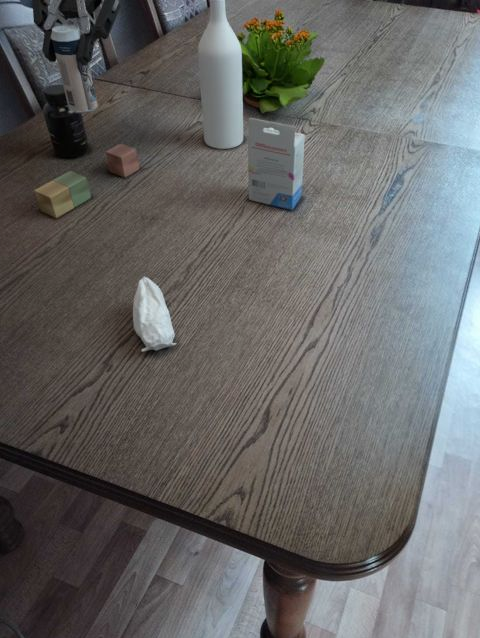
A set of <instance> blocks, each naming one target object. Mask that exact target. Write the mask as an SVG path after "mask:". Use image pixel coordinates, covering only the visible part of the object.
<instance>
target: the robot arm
mask: <svg viewBox="0 0 480 638" xmlns="http://www.w3.org/2000/svg"><path fill="white" fill-rule="evenodd" d="M31 1H32V15H33V24H34V25H35V26H36V27H37V28H38V29H40V30H41V31H42V32H43V34H44V36H43V43H42V47H41V50H42V54H43V56H44V57H45V58H46V59H47V60H48V61H49V62H51V63H55V62H57V58H56V54H55V50H54V46H53V42H52V39H51V34H52V28H54V27H56V26H59V25H64V24H69V22H70V20H73V19H78V20H80V24H81V32H82V33H83V34H80V41H79V47H78V53H77V60H78V61H79V62H80V63H81V64H82V65H88V62H89V63H90V62H91V61H92V60H93V55H94V47H95V44H96V42H97V41H98V40H99V39H103V40H107V39H108V38H109V36H110V34H111V31H112V28H113V26H114V24H115V21H116V19H117V16H118V14H119V12H120V10H121V7H122V4H121V2H120V0H52V2H51V0H31ZM99 7H100V10H99V12H98V15H97V17H96V13H95V11H96V10H97V9H98V8H99Z"/></svg>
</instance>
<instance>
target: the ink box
mask: <svg viewBox="0 0 480 638" xmlns="http://www.w3.org/2000/svg"><path fill="white" fill-rule="evenodd" d="M247 124H248V125H247V127H248V135H247V162H248V163H247V164H248V166H247V167H248V172H247V173H248V175H247V176H248V200H249V201H252V202H257V203H260V204H264V205H268V206H269V205H270V206H273V207H276V208H281V209H285V210H290V211H293V209H294V208H295V207H296V206H297V204H298V202H299V201H300V200H301V198H302V196H303V195H302V193H303V175H304V158H305V140H306V134H305V133H300V132H296V131H297V130H296V126H295V125H289V124H285V123H284V124H283V123H280V122H274V121H270V120H263V119H258V118H253V117H249V118H248V120H247Z"/></svg>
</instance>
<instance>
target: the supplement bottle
mask: <svg viewBox="0 0 480 638" xmlns="http://www.w3.org/2000/svg"><path fill="white" fill-rule="evenodd" d="M42 91H43V96H44V100H45V104H44V106H43V108H42V113H43V118H44V120H45V124H46V128H47V131H48V135H49V138H50V142H51V146H52V149H53V152H54V154H55V155H56V156H57V157H60V158H63V159H75V158H78V157H82V156H83V155H85V154H86V153H87V152H88V151H89V147H90V145H89V141H88V140H89V139H88V136H87V132H86V131H87V130H86V127H85V123H84V118H83V114H79V113H75V112H73V111H71V110H70V109H69V108H68V103H67V99H66V95H65V91H64V87H63V83H59V84H58V83H55V84H51V85H48V86H46V87H44V88H43V90H42Z"/></svg>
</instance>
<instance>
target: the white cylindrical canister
mask: <svg viewBox="0 0 480 638" xmlns="http://www.w3.org/2000/svg"><path fill="white" fill-rule="evenodd" d="M80 34H83V31H82V29H81V28H80V27H79V26H78V25H75V24H69V23H68V24H64V25H59V26H56V27H54V28H52V34H51V39H52V42H53V46H54V50H55V54H56V62H57V66H58V70H59V71H58V72H59V74H60V78H61V84H63V87H64V91H65V95H66V99H67V103H68V108H69V109H70V110H71V111H73V112H75V113H79V114H82V115H84V114H90V113H92V112H93V111H95V109H96V108H98V107H99V104H98V100H97V97H96V92H95V87H94V81H93V77H92V72H91V67H90V62H88V65H82V64H81V63H80V62H79V61H78V60H77V53H78V47H79V41H80Z"/></svg>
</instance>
